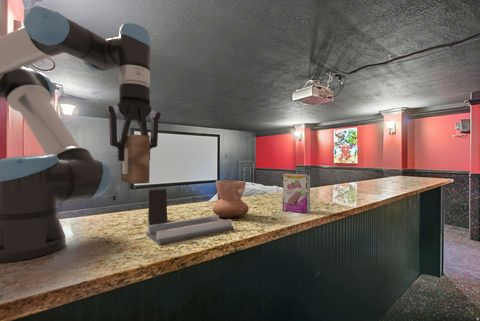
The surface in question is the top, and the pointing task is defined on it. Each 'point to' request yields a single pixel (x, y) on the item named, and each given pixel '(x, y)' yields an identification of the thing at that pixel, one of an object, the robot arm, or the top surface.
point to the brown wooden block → (137, 159)
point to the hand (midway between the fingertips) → (134, 173)
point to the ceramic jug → (230, 199)
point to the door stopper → (157, 206)
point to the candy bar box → (296, 193)
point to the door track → (188, 229)
